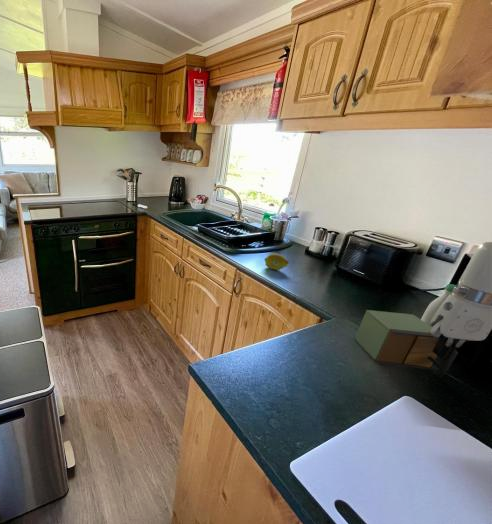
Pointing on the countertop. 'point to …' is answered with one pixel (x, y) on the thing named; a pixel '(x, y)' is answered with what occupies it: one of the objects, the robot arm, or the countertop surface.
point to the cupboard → (390, 336)
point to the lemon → (276, 261)
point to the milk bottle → (436, 304)
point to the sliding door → (427, 354)
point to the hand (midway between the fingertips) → (440, 355)
